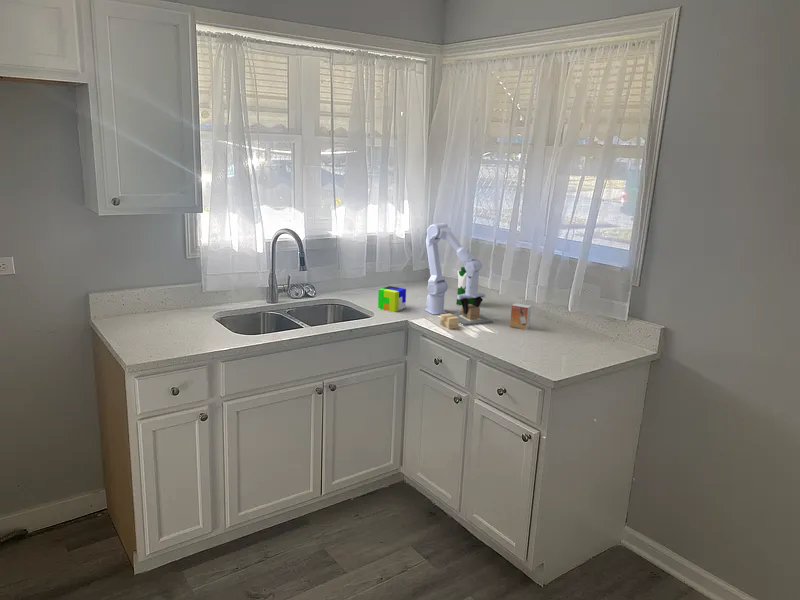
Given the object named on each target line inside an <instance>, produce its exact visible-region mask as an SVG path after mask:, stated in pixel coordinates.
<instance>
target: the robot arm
mask: <svg viewBox="0 0 800 600" xmlns="http://www.w3.org/2000/svg"><path fill="white" fill-rule="evenodd" d="M441 240H445V241H447V243H448V245H450V246H451V247H452V248H453V249H454V251H456V257H457V258H458V259H459V261H460V262H461V263H462V264H463V265H464V267H465V270H466V275H467V277H466V293H464V294H460V295H456V296H457V297H456V300H457V299H459V300H460V301H461V304H462V306H463V311H464V313H465V314H467V311H468V304H469V301H468V298H473V303H474V306H476V307H478V308H480V306H481V304H482V302H483V300H484V299H483V298H486V293H485V292H479V280H480V277H479V276H480V271H481V270H482V262H481V261H480V259H478V258H476V257H475V256H473V254H472V253H471V252H470V249H469V248H467V247H465V246H464V247H463V246H462V245H461V243H460V242H459V240H458V239H457V237H456V236H455V235H454V233H453V232H452V229H451V227H449V225H448V224H447V223H445V222H441V223H434V224H431V225H429V227H427V229H426V239H425V247H426V252H427V253H426V254H427V260H428V269H429V273H430V274H429V275H430V277H429V279H428V281H427V283H428V284H427V288H426V290H427V292H428V294H427V296H426V303H425V306H426V307H425V308H424V311H425V312H427V313H428V314H429V313H430V314H431V315H441V314H448V312H447V311H445V310H444V309H445V294H446V292H447V291H448V288H449V287H448V283H447V281H446V278H445V276H444V275H443V273H442V269H441V268H442V267H441V259H440V254H439V247H438V243H439V242H440V241H441ZM462 306H461V307H462Z"/></svg>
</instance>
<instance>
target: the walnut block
mask: <svg viewBox="0 0 800 600" xmlns="http://www.w3.org/2000/svg"><path fill="white" fill-rule="evenodd" d="M480 310H481V308H480V307H479V308H478V307H476V306H474V305H472V304H468V311H467V314H465V313H464V311H463V306H461V313H460V314H461V315H463V316H465V317H467V318H469V319H478V318H479V314H480Z"/></svg>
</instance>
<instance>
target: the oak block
mask: <svg viewBox="0 0 800 600" xmlns="http://www.w3.org/2000/svg"><path fill="white" fill-rule="evenodd" d="M452 314H453V313H445V314H440V319H439V320H440V321H439V325H441V326H442V327H444V328H446V329H447V328H448V330H452V328H455V329H459V324H460V323H459V318H458V317H456V316H454V315H452Z"/></svg>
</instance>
